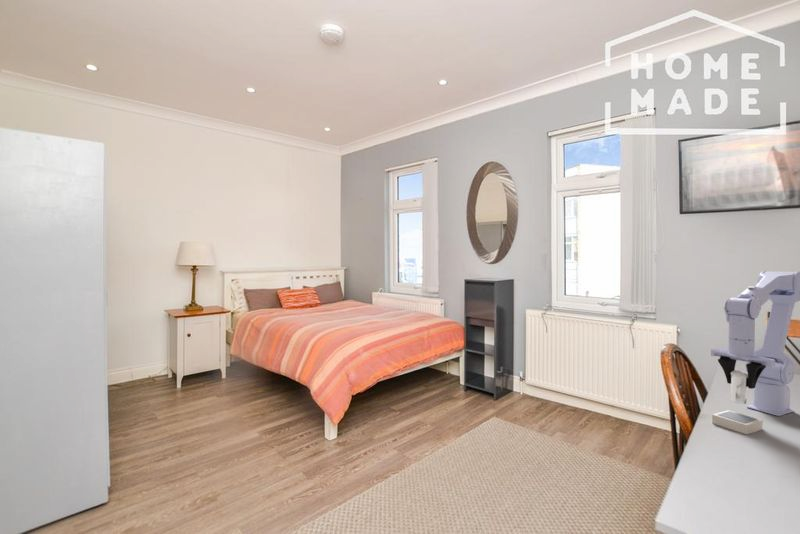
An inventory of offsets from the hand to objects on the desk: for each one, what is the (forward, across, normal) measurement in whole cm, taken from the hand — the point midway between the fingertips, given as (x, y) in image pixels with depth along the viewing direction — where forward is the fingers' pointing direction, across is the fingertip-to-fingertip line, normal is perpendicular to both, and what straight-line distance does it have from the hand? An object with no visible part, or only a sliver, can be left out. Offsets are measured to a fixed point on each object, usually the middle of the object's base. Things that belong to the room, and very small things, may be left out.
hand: (740, 385), depth 113 cm
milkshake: (+5, 0, 0) cm, 5 cm away
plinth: (+10, +2, -6) cm, 12 cm away
